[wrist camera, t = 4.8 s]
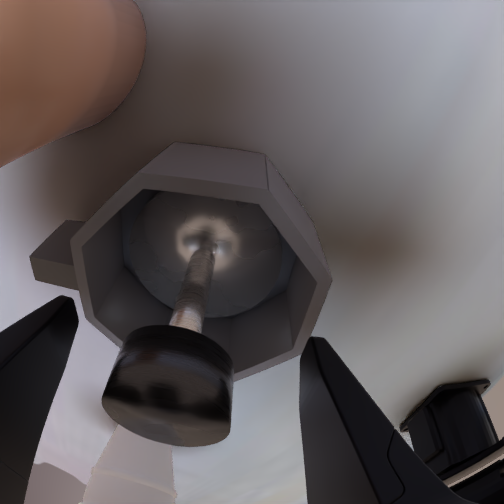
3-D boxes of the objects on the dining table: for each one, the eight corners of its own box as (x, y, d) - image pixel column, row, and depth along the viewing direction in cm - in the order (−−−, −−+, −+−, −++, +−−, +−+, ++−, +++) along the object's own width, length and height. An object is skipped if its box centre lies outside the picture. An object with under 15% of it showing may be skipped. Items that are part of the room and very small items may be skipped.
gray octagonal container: (327, 166, 10) (357, 206, 7) (282, 325, 14) (287, 388, 11) (69, 136, 10) (10, 164, 7) (85, 292, 14) (54, 345, 10)
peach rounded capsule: (160, -24, 7) (72, -94, 2) (136, 133, 10) (32, 196, 5) (28, 0, 6) (-81, -4, 1) (16, 132, 9) (-89, 186, 4)
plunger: (296, 193, 10) (342, 358, 4) (265, 316, 13) (268, 471, 7) (134, 170, 10) (8, 299, 4) (137, 296, 13) (81, 437, 7)
